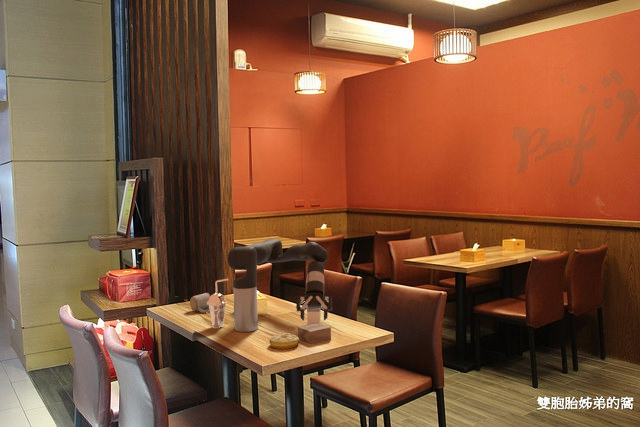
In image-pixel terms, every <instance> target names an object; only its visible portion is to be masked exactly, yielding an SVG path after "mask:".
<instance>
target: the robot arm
mask: <svg viewBox="0 0 640 427" xmlns="http://www.w3.org/2000/svg"><path fill="white" fill-rule="evenodd" d="M328 253H329V252H328V251H327V249H325V248H324V247H322V245H320V244H319V243H317V242H315V241H309V242H307V243H304V244H294V245H292V246H290V247H288V249H286V251H285V252H283V243H282V241H281V240H280V239H278V238H267V239H265V240H263V241H260V242H256V243H255V242H254V243H252V244H248V245H245V246H234V247H232V248H231V249H229V252H228V254H227V260H226V261H227V263H228V266H229V267H230V268H231V269H232V270H235V271H245V274H244V275H243V276H241V277H238V278H235V279H234V280H233V282H232V283H233V286H232V287H233V289H232V290H233V320H234V321H233V323H234V325H233V326H234V330H235V331H236V332H239V333H248V332H249V333H250V332H254V331H257V330H259V322H258V321H259V320H258V318H259V317H258V316H259V314H258V290H257V289H258V288H257V287H258V286H257V280H258V265H261V264H264V263H270V264H273V263H274V264H275V263H285V262H291V261H300V262H301V261H304V262H305V261H308V260H312V261H310V262H309V263H308V265H307V269H306V270H307V271H306V272H307V273H306V280H305V295H304V296H301V295H297V298H296V305H295V307H296V312H300V315H299V316H300V319H301V320H302V321H305V312H306V311H307V308H308V306H321V309H322V310H323V321H326V320H327V319H328V312H331V311H333V299H332V295H331V294H329V295H328V296H325V267H326V265H327V261H328V260H329V254H328ZM325 301H326V302H327V303H328V306H327V305H326V304H325ZM302 302H303V304H302ZM301 304H302V305H301Z"/></svg>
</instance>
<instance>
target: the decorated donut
mask: <svg viewBox="0 0 640 427" xmlns="http://www.w3.org/2000/svg"><path fill="white" fill-rule="evenodd" d="M299 341H300V339H299V338H298V337H297V334H294V333H288V332H284V333H279V334H274V335H272V336H270V338H269V340H268V342H269V344H270V347H272V348H274V349H276V350H277V349H278V350H288V349H291V348H295V347H296V346H297V345H298V343H299Z"/></svg>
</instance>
